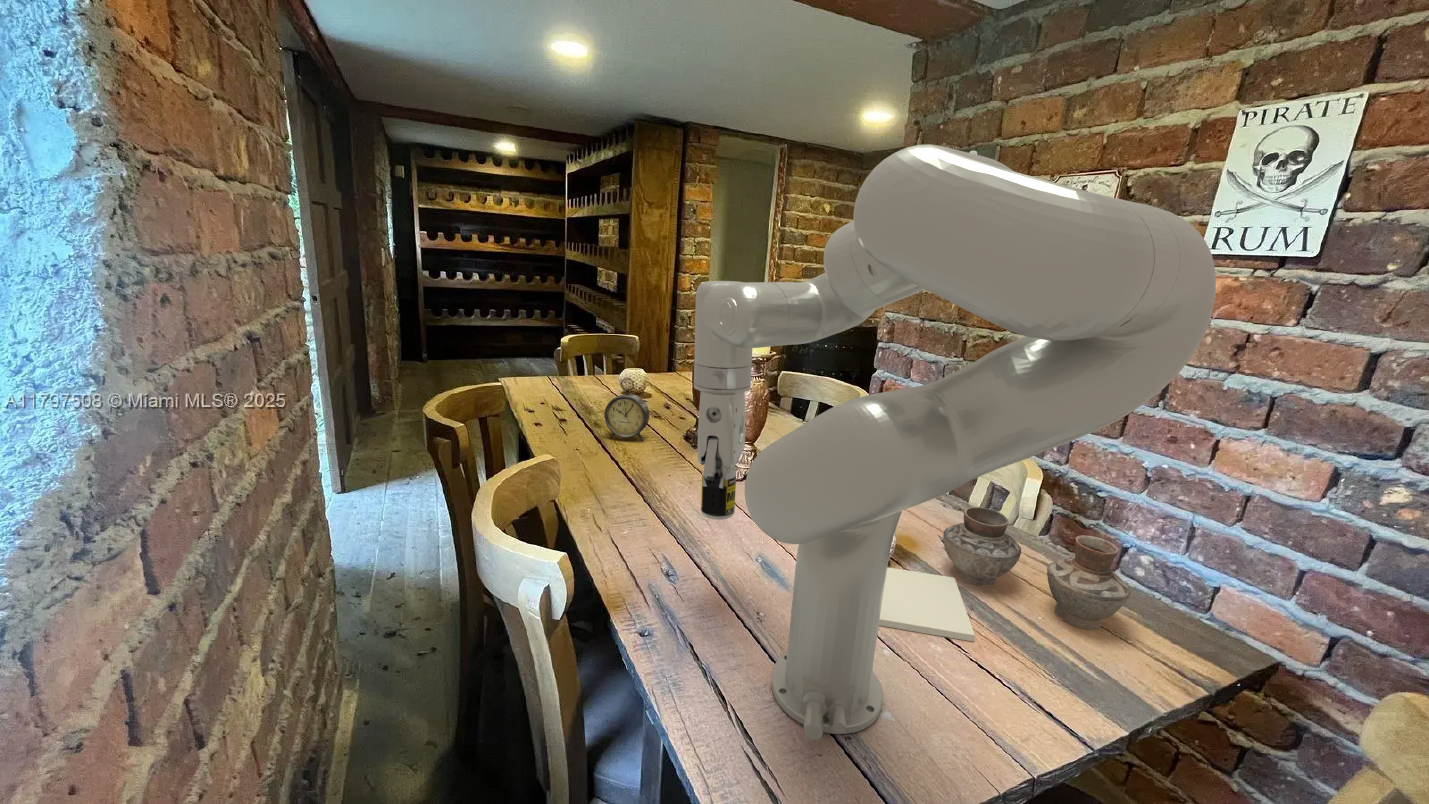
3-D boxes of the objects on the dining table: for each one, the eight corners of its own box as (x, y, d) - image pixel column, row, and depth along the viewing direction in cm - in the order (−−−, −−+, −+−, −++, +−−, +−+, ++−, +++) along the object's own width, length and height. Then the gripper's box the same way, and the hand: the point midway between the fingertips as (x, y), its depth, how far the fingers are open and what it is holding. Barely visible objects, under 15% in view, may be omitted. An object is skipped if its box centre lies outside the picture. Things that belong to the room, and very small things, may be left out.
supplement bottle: (731, 522, 76) (733, 464, 74) (697, 518, 76) (698, 460, 74) (737, 508, 80) (739, 452, 78) (705, 504, 81) (706, 449, 79)
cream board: (973, 641, 74) (974, 635, 74) (865, 623, 77) (865, 616, 77) (953, 583, 87) (954, 577, 87) (861, 569, 90) (862, 563, 90)
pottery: (1112, 653, 73) (1134, 573, 70) (926, 575, 90) (937, 507, 86) (1125, 616, 81) (1146, 542, 78) (952, 550, 98) (963, 487, 94)
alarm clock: (603, 439, 144) (603, 378, 140) (611, 433, 149) (610, 374, 145) (644, 444, 143) (645, 382, 138) (650, 437, 148) (651, 377, 143)
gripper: (739, 393, 65) (733, 536, 69) (759, 367, 81) (753, 485, 85) (677, 388, 66) (675, 528, 71) (709, 364, 82) (705, 479, 87)
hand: (718, 503), depth 78 cm, fingers closed on supplement bottle, 4 cm apart
